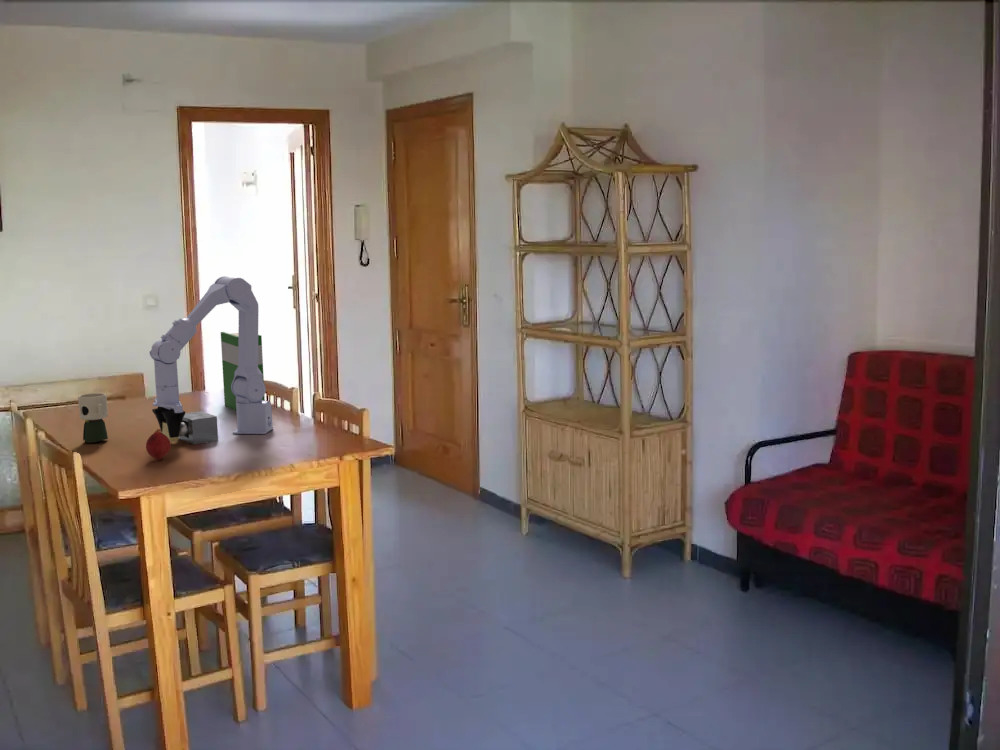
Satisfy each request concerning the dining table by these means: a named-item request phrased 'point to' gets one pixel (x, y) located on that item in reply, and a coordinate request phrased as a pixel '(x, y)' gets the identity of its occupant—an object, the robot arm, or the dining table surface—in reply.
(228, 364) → the hardback book
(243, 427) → the robot arm
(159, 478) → the dining table surface
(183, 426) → the end cover
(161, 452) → the onion
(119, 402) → the dining table surface
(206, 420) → the housing
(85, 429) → the character mug
